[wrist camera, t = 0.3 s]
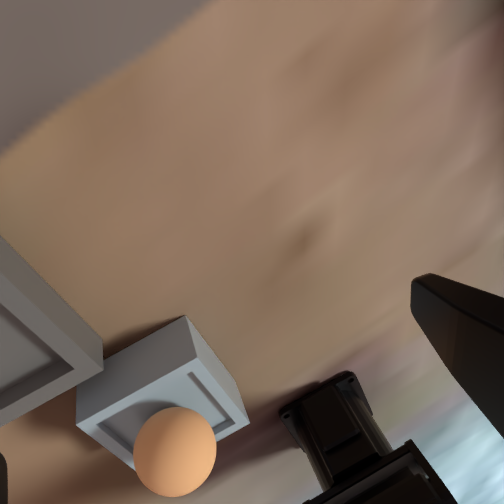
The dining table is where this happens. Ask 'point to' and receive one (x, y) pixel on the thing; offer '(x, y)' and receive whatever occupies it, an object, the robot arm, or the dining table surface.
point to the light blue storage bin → (158, 389)
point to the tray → (39, 340)
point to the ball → (174, 451)
